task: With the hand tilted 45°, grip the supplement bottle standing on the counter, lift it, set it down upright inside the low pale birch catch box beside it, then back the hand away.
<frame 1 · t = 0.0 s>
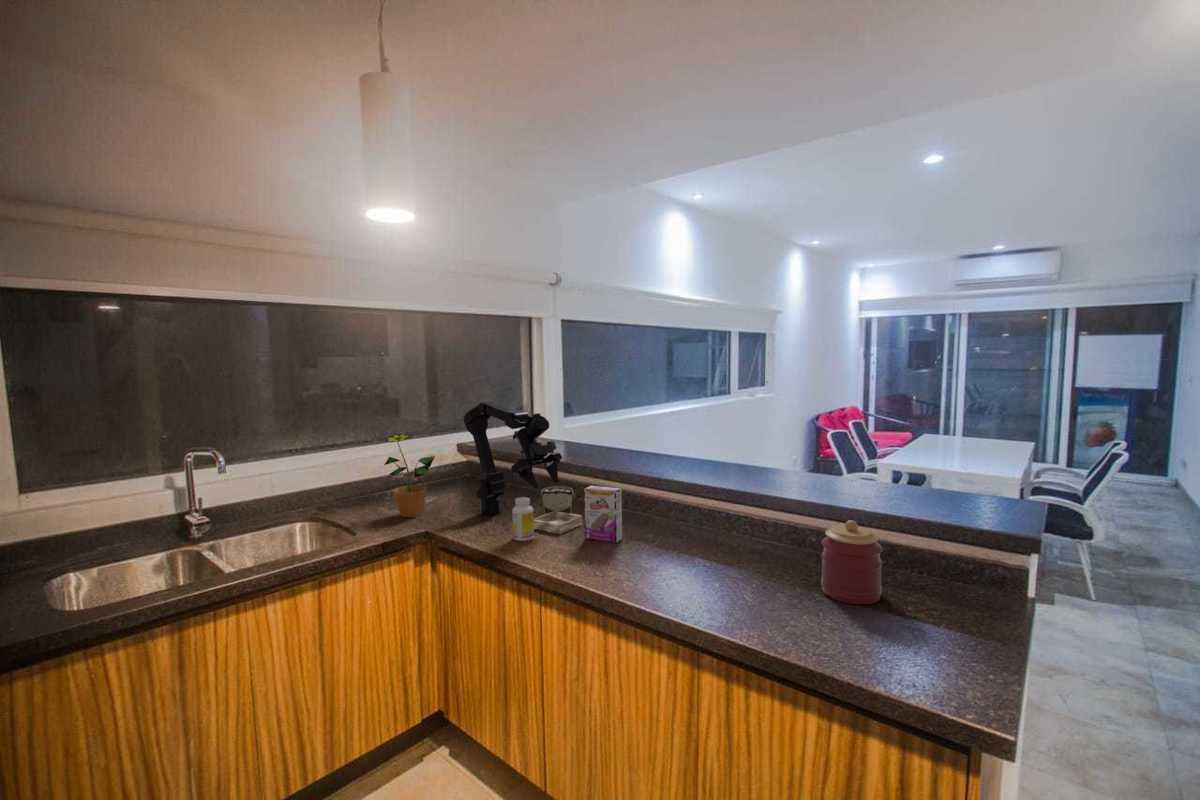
hand: (547, 485, 179), 15 cm above the worktop, tool tilted 35°, fingers open, 9 cm apart
potted plant: (411, 515, 200), on the worktop
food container: (559, 515, 197), on the worktop
candy bar box: (603, 540, 168), on the worktop
canister: (850, 594, 127), on the worktop
supplement bottle: (523, 538, 171), on the worktop
catch box: (557, 526, 183), on the worktop
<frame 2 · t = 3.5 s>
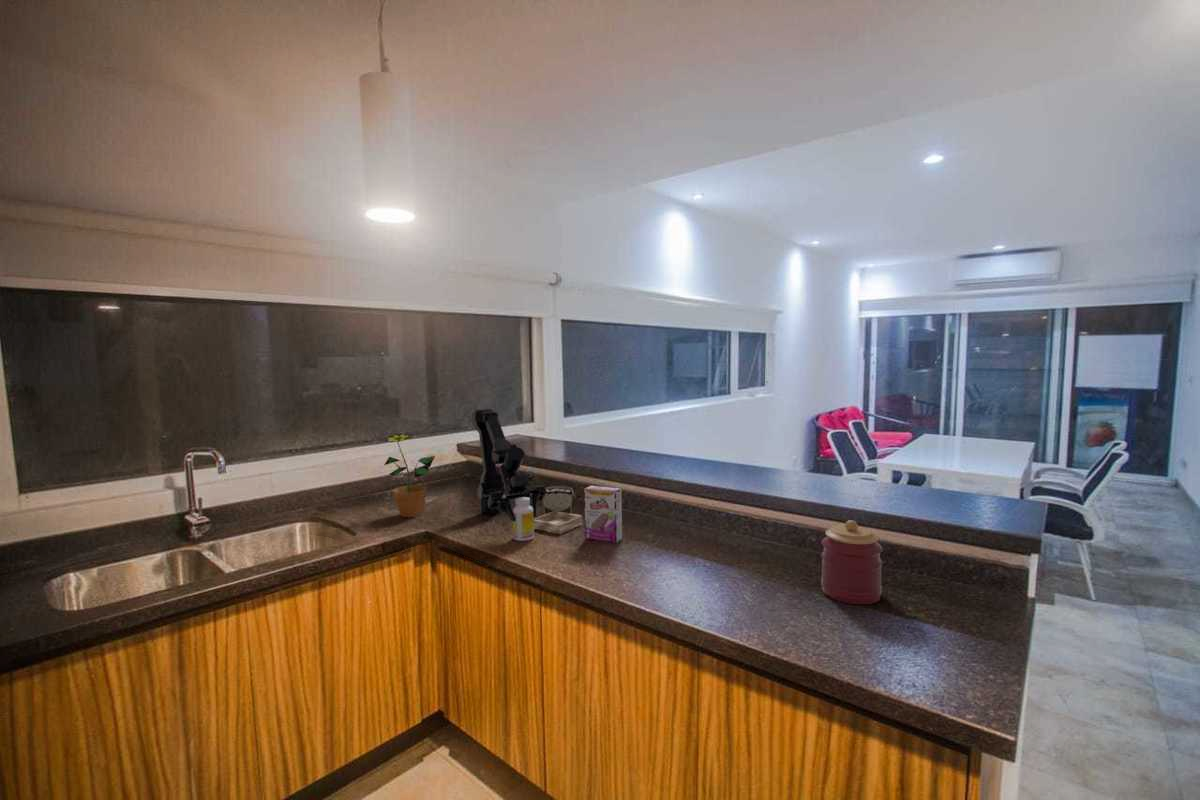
hand: (524, 519, 169), 7 cm above the worktop, tool tilted 45°, fingers closed on supplement bottle, 6 cm apart
supplement bottle: (523, 538, 171), on the worktop, touching gripper
everything else where it was.
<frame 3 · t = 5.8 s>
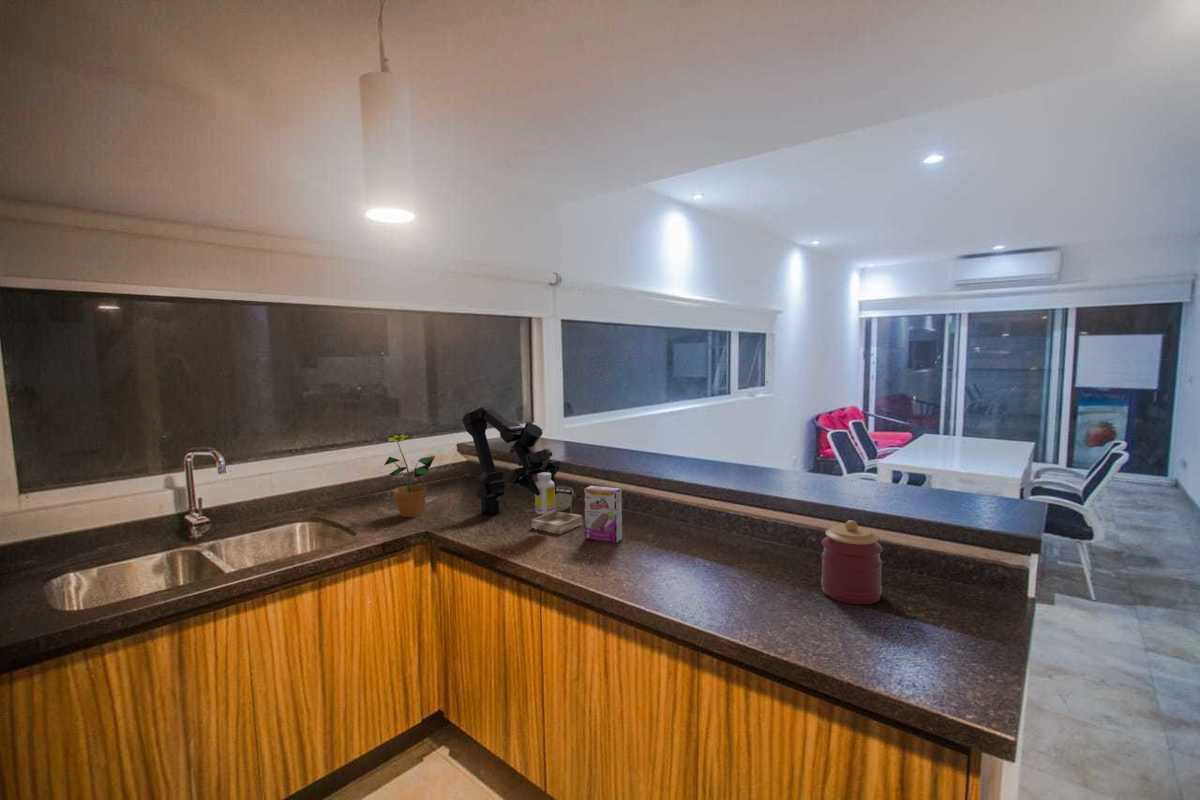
hand: (547, 492, 176), 13 cm above the worktop, tool tilted 45°, fingers closed on supplement bottle, 6 cm apart
supplement bottle: (545, 512, 177), point 6 cm above the worktop, touching gripper
everything else where it was.
when the fingers open (9 cm above the worktop, at t = 8.4 s): supplement bottle drops 1 cm, resting on catch box.
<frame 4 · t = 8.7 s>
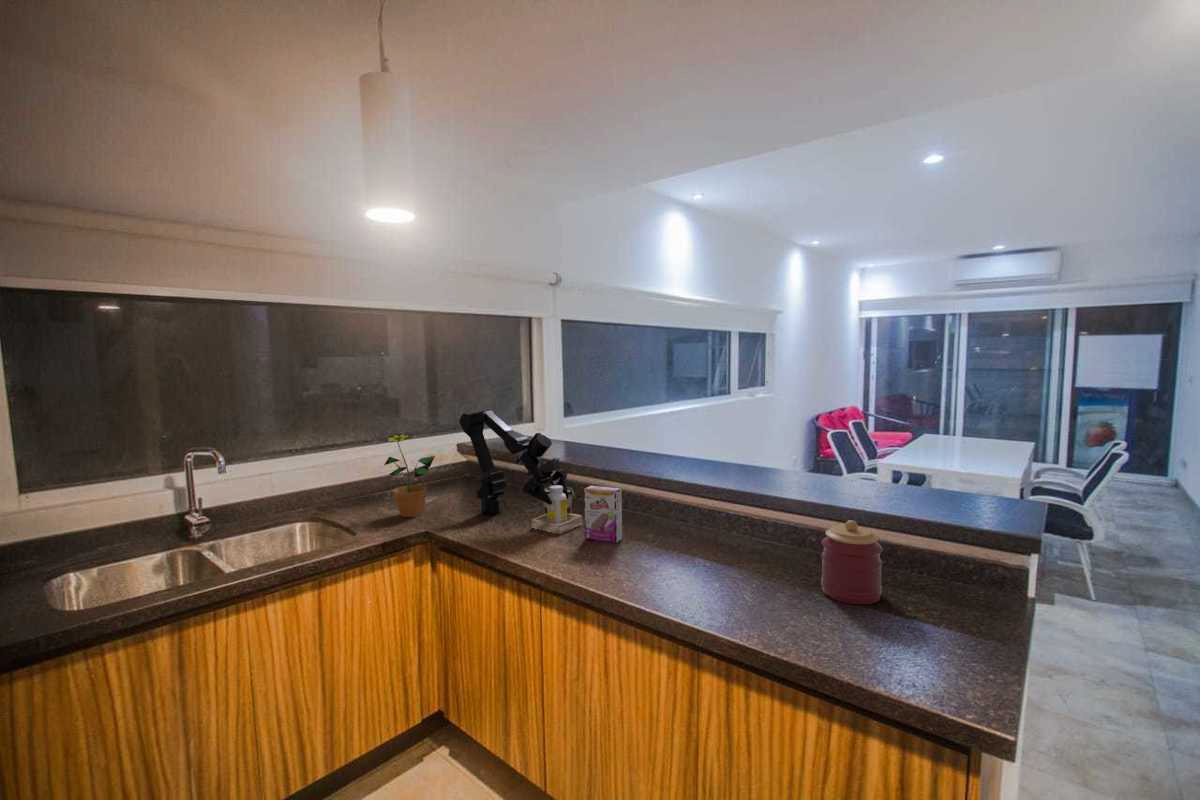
hand: (559, 500, 181), 9 cm above the worktop, tool tilted 45°, fingers open, 9 cm apart
supplement bottle: (557, 524, 183), point 1 cm above the worktop, touching catch box
everything else where it was.
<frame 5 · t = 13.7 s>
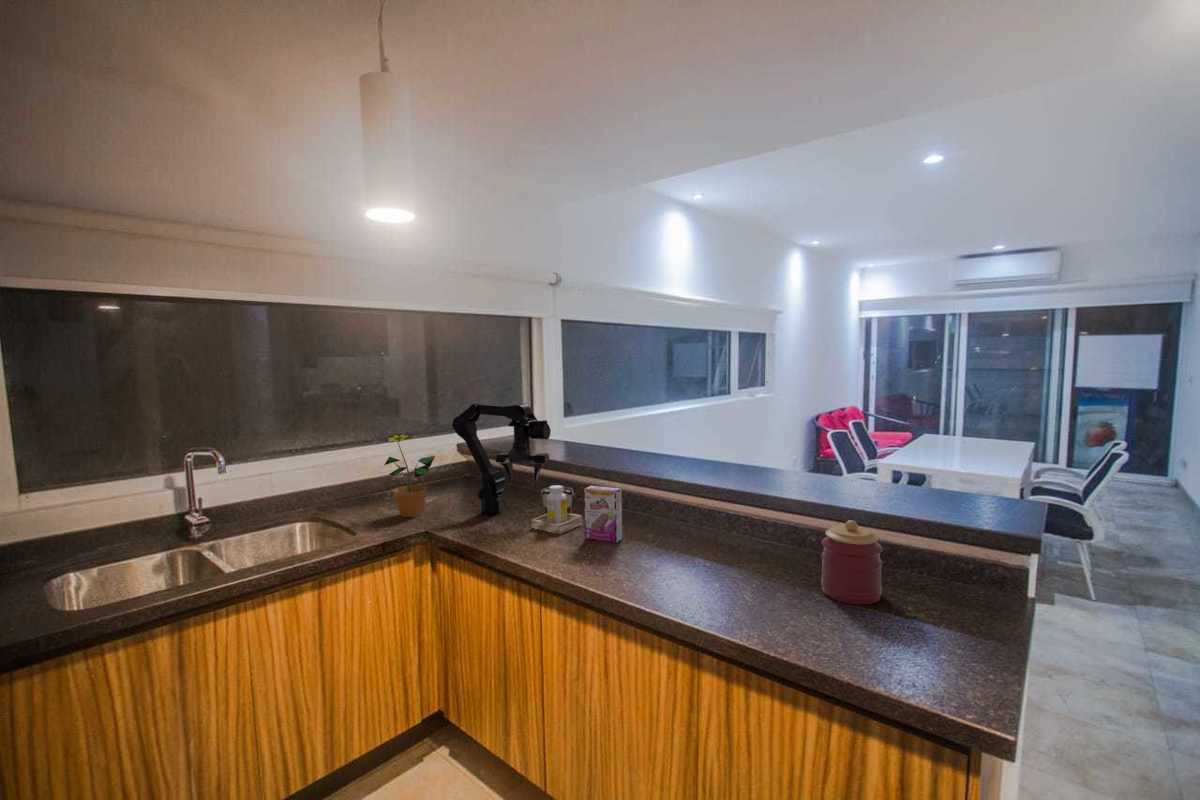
hand: (523, 481, 194), 13 cm above the worktop, tool pointing down, fingers open, 9 cm apart
nothing on the worktop moved.
at the end: supplement bottle inside the target area on the catch box (0.3 cm from its centre), point 0.6 cm above the catch box's base; supplement bottle tilted 0°; the gripper is holding nothing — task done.
